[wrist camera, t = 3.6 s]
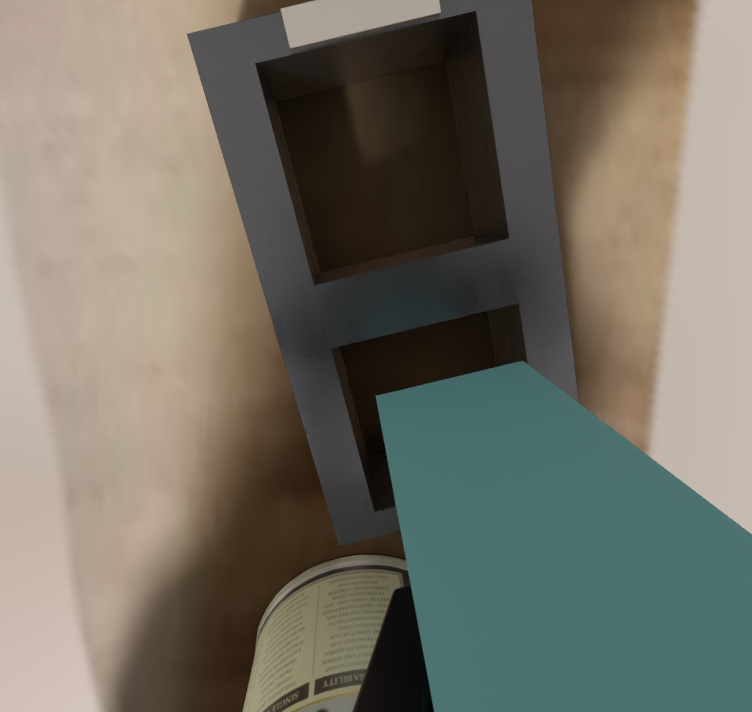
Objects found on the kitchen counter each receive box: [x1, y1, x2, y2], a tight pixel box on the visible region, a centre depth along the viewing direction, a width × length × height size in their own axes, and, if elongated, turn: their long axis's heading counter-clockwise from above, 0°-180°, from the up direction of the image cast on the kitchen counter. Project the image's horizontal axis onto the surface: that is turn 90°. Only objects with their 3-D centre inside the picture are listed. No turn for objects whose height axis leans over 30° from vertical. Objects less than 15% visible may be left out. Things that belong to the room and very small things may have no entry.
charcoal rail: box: [187, 0, 579, 546], centre depth 16 cm, size 16×9×4 cm, turn 13°
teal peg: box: [376, 361, 752, 712], centre depth 8 cm, size 4×4×10 cm
